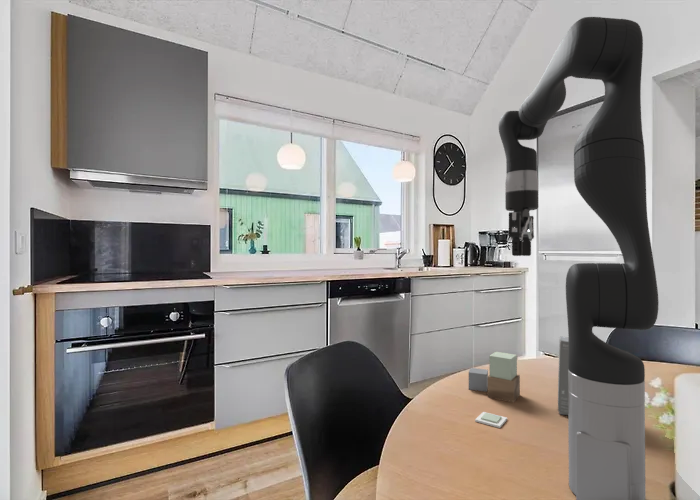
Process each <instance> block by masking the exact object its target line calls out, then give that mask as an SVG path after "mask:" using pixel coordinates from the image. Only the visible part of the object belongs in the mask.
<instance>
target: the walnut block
mask: <svg viewBox="0 0 700 500" xmlns="http://www.w3.org/2000/svg"><path fill="white" fill-rule="evenodd" d="M520 377H521V376H520V374H517V376H516V377H514V378H513V379H512V380H506V379H500V378H495V377H490V374H488V389H487V398H491V399H496V400H500V401H504V402H505V401H506V402H508V403H515V402H516V401H517V399H518V398H519V396H520V395H521V390H520V389H521V383H520V382H521V378H520Z"/></svg>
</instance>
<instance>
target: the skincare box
mask: <svg viewBox="0 0 700 500" xmlns="http://www.w3.org/2000/svg"><path fill="white" fill-rule="evenodd" d="M568 350H569V336H568V337H567V336H559V348H558V377H557V380H558V381H557V383H558V384H557V411H558V414H559V415H564V416H568Z"/></svg>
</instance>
